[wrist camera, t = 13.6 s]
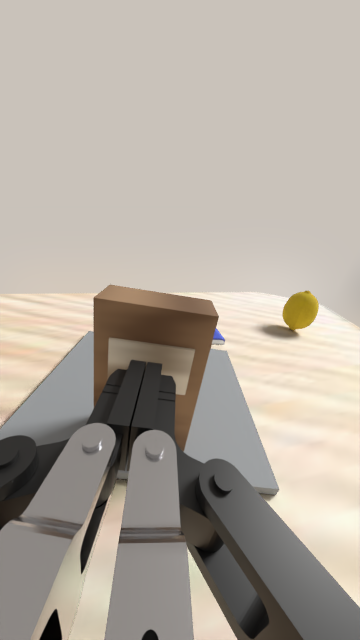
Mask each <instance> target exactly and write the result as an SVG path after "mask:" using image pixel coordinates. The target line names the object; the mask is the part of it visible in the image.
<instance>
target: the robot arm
mask: <svg viewBox="0 0 360 640" xmlns="http://www.w3.org/2000/svg"><path fill="white" fill-rule="evenodd" d="M146 364H147V366H146ZM161 371H162V364H161V363H154V362H146V361H139V360H132V359H131V361H130V364H129V366H128V369H127V370H124V369H117V370H116V371H114V372H113V373H112V374H111V375H110V376H109V378H108V380H107V382H106V385H105V386H104V388H103V390H102V393H101V395H100V397H99V399H98V401H97V403H96V405H95V407H94V409H93V411H92V413H91V415H90V417H89V419H88V421H87V423H86V425H85V426H83V427H81V428H80V429H78V430H77V431H76V432H75V433H74V434H73V435H72V437H71V438H69V439H67V440H64V441H61V442H56V443H51V444H45V445H40V446H36V443H35V441H34V440H33V439H32V438H30V437H28V436H24V435H16V436H11V437H7V438H4V439H2V440H0V640H68V638H69V635H70V632H71V629H72V626H73V623H74V619H75V616H76V613H77V609H78V606H79V602H80V598H81V594H82V589H83V584H84V580H85V576H86V573H87V570H88V567H89V564H90V560H91V557H92V554H93V551H94V548H95V545H96V542H97V539H98V536H99V533H100V530H101V527H102V524H103V521H104V518H105V515H106V511H107V508H108V505H109V502H110V499H111V496H112V491H113V488H114V485H115V481H116V477H117V474H118V470H122V471H125V468H126V464H127V460H128V464H127V471H129V476H128V483H127V490H126V497H125V504H124V511H123V518H122V525H121V531H120V536H119V543H118V549H117V556H116V563H115V570H114V577H113V584H112V591H111V598H110V605H109V612H108V618H107V625H106V632H105V639H104V640H194V636H193V622H192V608H191V594H190V580H189V566H188V554H187V547H188V549H189V551H190V553H191V555H192V557H193V558H194V560H195V562H196V564H197V566H198V568H199V569H200V571H201V573H202V575H203V577H204V579H205V580H206V582H207V584H208V586H209V588H210V590H211V592H212V593H213V595H214V597H215V599H216V601H217V603H218V604H219V606H220V608H221V610H222V612H223V614H224V615H225V617H226V619H227V621H228V623H229V625H230V626H231V628H232V630H233V632H234V634H235V636H236V637H237V639H238V640H360V608H359V607H358V605H357V604H356V603H355V602H354V601H353V600H352V599H351V597H350V596H349V595H348V594H347V593H346V592H345V591H344V590H343V588H342V587H341V586H340V585H339V584H338V583H337V582H336V580H335V579H334V578H333V577H332V576H331V575H330V574H329V572H328V571H327V570H326V569H325V568H324V567H323V566H322V565H321V563H320V562H319V561H318V560H317V559H316V558H315V557H314V555H313V554H312V553H311V552H310V551H309V550H308V549H307V548H306V546H305V545H304V544H303V543H302V542H301V541H300V540H299V538H298V537H297V536H296V535H295V534H294V533H293V532H292V531H291V529H290V528H289V527H288V526H287V525H286V524H285V523H284V521H283V520H282V519H281V518H280V517H279V516H278V515H277V514H276V512H275V511H274V510H273V509H272V508H271V507H270V506H269V504H268V503H267V502H266V501H265V500H264V499H263V498H262V497H261V495H260V494H259V493H258V492H257V491H256V490H255V489H254V487H253V486H252V485H251V484H250V483H249V482H248V481H247V479H246V478H245V477H244V476H243V475H242V474H241V473H240V472H239V470H238V469H237V468H236V467H235V466H234V465H232V464H231V463H229V462H228V461H226V460H223V459H217V458H215V459H211V460H208V461H207V462H205V463H202V462H200V461H198V460H196V459H194V458H192V457H190V456H188V455H187V454H185V453H184V452H183V451H182V450H181V449H180V447H179V446H178V444H177V442H176V440H175V401H176V383H175V381H174V379H173V377H172V376H169V375H161Z"/></svg>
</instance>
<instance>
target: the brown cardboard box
mask: <svg viewBox="0 0 360 640" xmlns="http://www.w3.org/2000/svg"><path fill="white" fill-rule="evenodd" d="M218 318H219V316H218V314H217V312H216V310H215V308H214V305H213V303H212V301H210V300H204V299H198V298H191V297H185V296H179V295H172V294H166V293H159V292H153V291H146V290H140V289H133V288H127V287H121V286H115V285H109V286H108V287H107V288H105V289H104V290H103V291H101V292H100V293H99V294H98V295H96V296H95V297H94V407H95V405H96V403H97V401H98V399H99V397H100V395H101V393H102V390H103V388H104V386H105V385H106V382H107V380H108V378H109V376H110V375H111V374H112V373H113V372H114V371H116V370H117V369H124V370H127V369H128V366H129V364H130V361H131V359H132V360H139V361H146V362H154V363H161V364H162V371H161V375H169V376H172V377H173V379H174V381H175V383H176V401H175V440H176V442H177V444H178V446H179V447H180V449H181V450H182V451H183V452H184V449H185V445H186V441H187V437H188V434H189V430H190V426H191V422H192V418H193V414H194V410H195V406H196V403H197V399H198V395H199V391H200V387H201V383H202V379H203V376H204V372H205V368H206V364H207V360H208V356H209V352H210V349H211V345H212V341H213V337H214V333H215V329H216V325H217V321H218ZM146 366H147V364H146Z"/></svg>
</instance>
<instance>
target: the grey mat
mask: <svg viewBox="0 0 360 640" xmlns="http://www.w3.org/2000/svg"><path fill="white" fill-rule="evenodd" d="M93 409H94V332H92V331H89V332H88V333H87V334H86V335H85V336H84V337H83V338H82V340H81V341H80V342H79V343H78V344H77V345H76V346H75V347H74V348H73V349H72V351H71V352H70V353H69V354H68V355H67V356H66V357H65V358H64V359H63V360H62V362H61V363H60V364H59V365H58V366H57V367H56V368H55V369H54V370H53V371H52V372H51V374H50V375H49V376H48V377H47V378H46V379H45V380H44V381H43V382H42V383H41V385H40V386H39V387H38V388H37V389H36V390H35V391H34V392H33V393H32V394H31V396H30V397H29V398H28V399H27V400H26V401H25V402H24V403H23V404H22V405H21V407H20V408H19V409H18V410H17V411H16V412H15V413H14V414H13V415H12V416H11V417H10V419H9V420H8V421H7V422H6V423H5V424H4V425H3V426H2V427H1V428H0V440H2V439H4V438H7V437H11V436H16V435H24V436H28V437H30V438H32V439H33V440H34V441H35V443H36V446H40V445H45V444H51V443H56V442H61V441H64V440H67V439H69V438H71V437H72V435H73V434H74V433H75V432H76V431H77V430H78V429H80V428H81V427H83V426H85V425H86V423H87V421H88V419H89V417H90V415H91V413H92V411H93ZM184 453H185V454H187V455H188V456H190V457H192V458H194V459H196V460H198V461H200V462H202V463H205V462H207V461H208V460H211V459H215V458H217V459H223V460H226V461H228V462H229V463H231V464H232V465H234V466H235V467H236V468H237V469H238V470H239V472H240V473H241V474H242V475H243V476H244V477H245V478H246V479H247V481H248V482H249V483H250V484H251V485H252V486H253V487H254V489H255V490H256V491H257V492H258V493H263V494H273V495H276V494H277V492H278V491H279V487H278V485H277V482H276V479H275V477H274V474H273V471H272V469H271V466H270V464H269V461H268V458H267V456H266V453H265V450H264V448H263V445H262V443H261V440H260V437H259V435H258V432H257V429H256V427H255V424H254V422H253V419H252V416H251V414H250V411H249V408H248V406H247V403H246V401H245V398H244V395H243V393H242V390H241V387H240V385H239V382H238V380H237V377H236V374H235V372H234V369H233V366H232V364H231V361H230V359H229V356H228V353H227V351H222V350H215V349H210V352H209V356H208V360H207V364H206V368H205V372H204V376H203V379H202V383H201V387H200V391H199V395H198V399H197V403H196V406H195V410H194V414H193V418H192V422H191V426H190V430H189V434H188V437H187V441H186V445H185V449H184ZM127 464H128V460H127ZM127 464H126V468H125V471H122V470H118V474H117V477H116V478H118V479H128V476H129V471H127Z"/></svg>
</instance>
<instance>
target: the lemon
mask: <svg viewBox="0 0 360 640" xmlns="http://www.w3.org/2000/svg"><path fill="white" fill-rule="evenodd" d="M317 312H318V301H317V299H316V298H315V297H314V296H313V295H312V294H311V293H310V291H305V292H299V293H296V294H294V295H293V296H291V297H290V298H289V300H288V301H287V303H286V304H285V306H284V309H283V319H284V321H285V323H286V324H287V325H288V326H289V328H290V329H291V330H296V329H302V328H305V327H307V326H309V325H310V324H311V323H312V322H313V321H314V319H315V318H316V315H317Z"/></svg>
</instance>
